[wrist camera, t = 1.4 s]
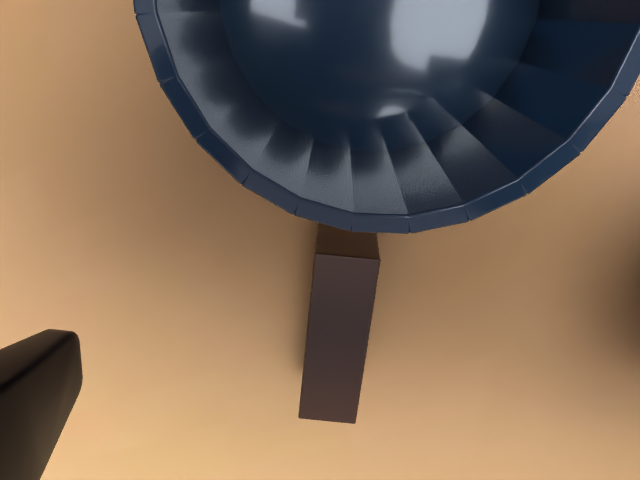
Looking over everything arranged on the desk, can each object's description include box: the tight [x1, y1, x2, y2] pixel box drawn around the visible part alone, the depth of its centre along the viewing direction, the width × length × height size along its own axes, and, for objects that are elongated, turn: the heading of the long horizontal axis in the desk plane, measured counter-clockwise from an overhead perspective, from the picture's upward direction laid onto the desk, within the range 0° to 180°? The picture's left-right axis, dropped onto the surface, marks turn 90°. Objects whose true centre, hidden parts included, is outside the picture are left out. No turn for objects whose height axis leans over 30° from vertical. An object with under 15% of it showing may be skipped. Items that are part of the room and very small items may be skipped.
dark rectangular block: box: [298, 223, 380, 424], centre depth 20 cm, size 7×2×3 cm, turn 175°
